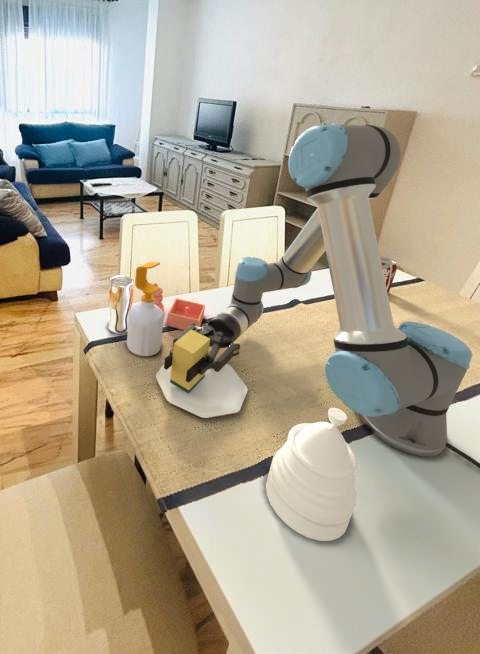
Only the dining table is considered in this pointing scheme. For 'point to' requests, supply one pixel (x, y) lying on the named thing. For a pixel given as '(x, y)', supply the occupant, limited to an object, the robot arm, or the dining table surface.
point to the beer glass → (120, 303)
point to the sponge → (188, 359)
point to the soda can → (388, 271)
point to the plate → (207, 393)
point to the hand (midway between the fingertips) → (176, 370)
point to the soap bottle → (145, 317)
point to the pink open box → (180, 311)
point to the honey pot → (314, 479)
